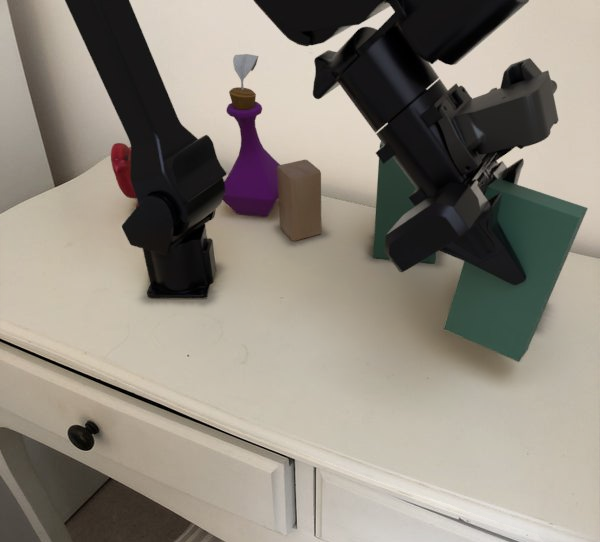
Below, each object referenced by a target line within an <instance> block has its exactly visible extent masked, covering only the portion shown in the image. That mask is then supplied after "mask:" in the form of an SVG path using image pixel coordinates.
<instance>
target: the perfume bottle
mask: <svg viewBox="0 0 600 542" xmlns="http://www.w3.org/2000/svg"><path fill="white" fill-rule="evenodd" d="M258 59H259V55H255V54H250V53H243V54H234V56H233V58H232V63H233V68H234V72H235V73H236V75H237V76H238V78H239V80H240V87H233V88H231V89H230V90H229V91H228V94H229V97H230V101H231V102H230V103H229V104H228V105H227V107H226V110H225V111H226V113H227V115H228V116H230V117H233V118H234V119H235V121H236V122H237V125H238V127H239V132H240V133H239V134H240V148H239V151H238V156H237V158H236V159H235V161H234V164H233V166H232V167H231V170H230V171H229V173H228V175H226V178H225V179H224V183H225V190H226V193H225V195H224V197H223V200H222V202H224V203H225V204H226V205H227V206H228V207H229V208H230V209H231V210H232V211H233V212H234V213H235V214H237V215H243V216H254V217H262V218H263V217H264V218H265V217H266V218H267V217H269V215H270V213H271V212H272V211H273V208H274V207H275V205H276V203H277V202H278V201H279V197H278V178H277V166H279V165H281V164H280V163H279V162H278V161H277V160H276V159H275V158H274V157H273V156H272V155H271V154H270V153H269V152H268V151H267V150H266V149H265V147H264V146H263V144H262V143H261V140H260V137H259V133H258V131H257V128H256V127H257V126H256V120H257V117H258V116H259V115H261V114H262V111H263V106H262V105H261V104H260V103H259V102H258V101H256V97H257V94H256V92H255V91H254V90H252V89H251V88H247V87H244V81H245V79H246V77H247V76H248V75H249V74H250V72H253V71H254V70H255V67H257V64H258Z"/></svg>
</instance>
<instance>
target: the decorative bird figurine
mask: <svg viewBox="0 0 600 542" xmlns="http://www.w3.org/2000/svg"><path fill="white" fill-rule="evenodd" d="M110 161H111V167H112V170H113V173H114V176H115V179H116V182H117V185H118V187H119V190H120V191H121V193H122V194H123V195H124V196H125V197H126V198H128V199H137V198H136V195H135V192H134V189H133V186H132V183H131V180H130V170H131V146H128V145H127V144H125V143H121V142H116V143H114V144H113V145H112V147H111V150H110ZM138 205H139V204H138V201H137V200H136V205H135V209H136V208H137V207H138Z"/></svg>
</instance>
